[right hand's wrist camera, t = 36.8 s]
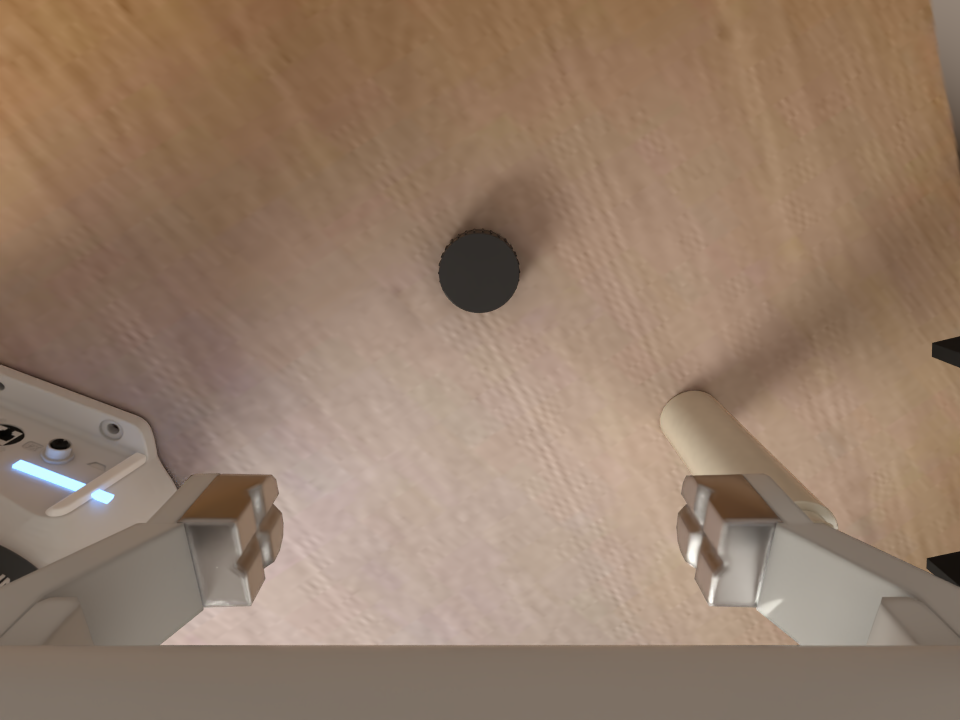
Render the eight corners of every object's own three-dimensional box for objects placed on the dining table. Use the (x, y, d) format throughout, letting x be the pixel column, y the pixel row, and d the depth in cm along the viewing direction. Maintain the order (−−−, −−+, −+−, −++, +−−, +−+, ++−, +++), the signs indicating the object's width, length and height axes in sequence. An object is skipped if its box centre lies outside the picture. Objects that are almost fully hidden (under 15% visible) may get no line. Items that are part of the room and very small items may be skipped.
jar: (729, 395, 38) (879, 531, 24) (710, 448, 40) (840, 607, 26) (669, 386, 38) (784, 518, 24) (652, 440, 40) (751, 595, 25)
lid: (469, 212, 34) (468, 214, 32) (534, 259, 35) (537, 264, 33) (424, 277, 35) (421, 283, 34) (488, 321, 36) (488, 329, 35)
